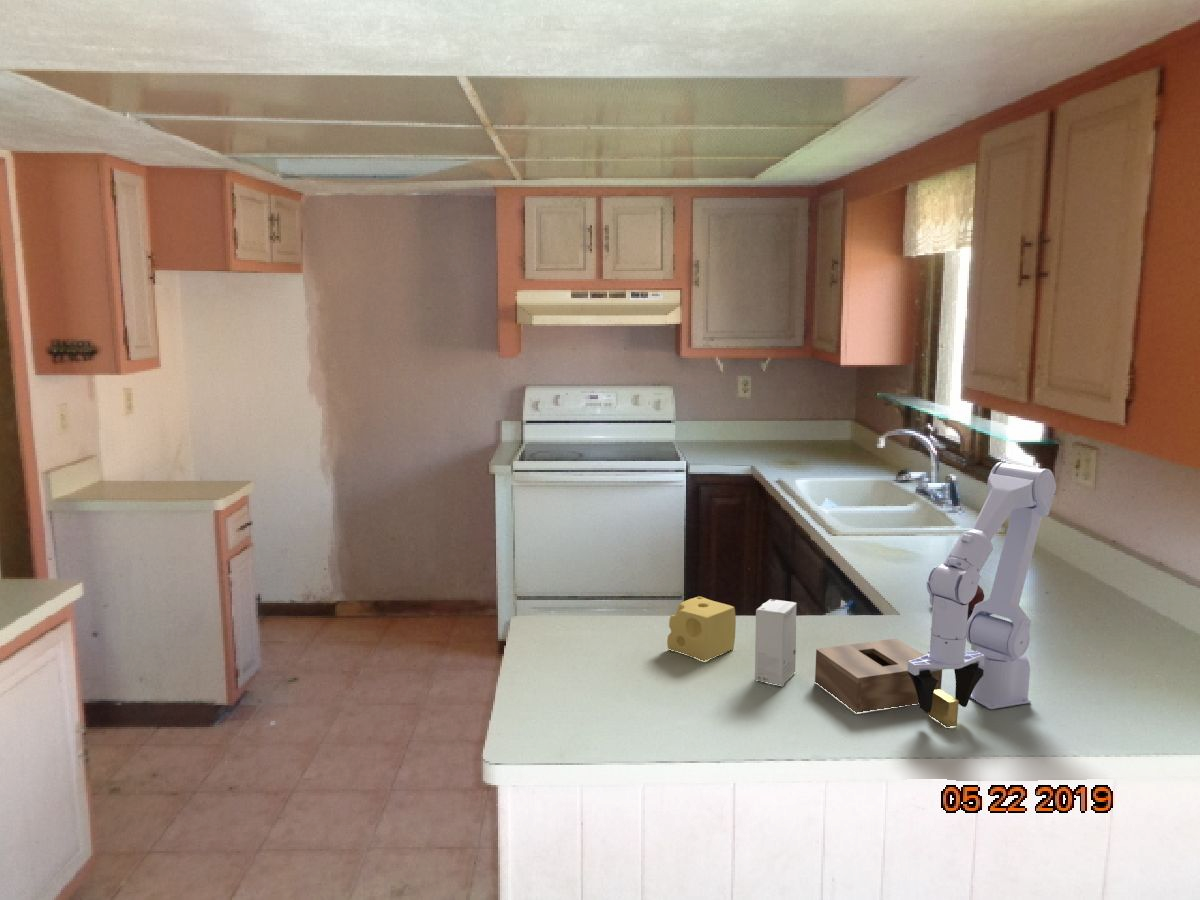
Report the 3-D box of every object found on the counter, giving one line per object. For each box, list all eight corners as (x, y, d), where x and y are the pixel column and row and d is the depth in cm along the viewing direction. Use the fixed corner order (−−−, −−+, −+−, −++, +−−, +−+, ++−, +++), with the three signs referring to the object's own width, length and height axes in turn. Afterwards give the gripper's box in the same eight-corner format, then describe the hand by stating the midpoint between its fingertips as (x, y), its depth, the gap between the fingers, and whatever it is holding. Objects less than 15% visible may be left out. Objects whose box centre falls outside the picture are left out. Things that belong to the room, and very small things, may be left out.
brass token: (937, 715, 162) (939, 689, 162) (956, 727, 158) (958, 700, 157) (928, 716, 162) (930, 690, 161) (947, 729, 157) (949, 702, 156)
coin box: (894, 671, 181) (896, 638, 180) (940, 701, 168) (942, 665, 167) (814, 683, 176) (816, 649, 174) (856, 714, 162) (857, 678, 161)
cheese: (666, 650, 192) (667, 605, 190) (699, 637, 199) (699, 593, 198) (705, 664, 185) (706, 618, 183) (737, 650, 192) (738, 605, 190)
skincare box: (782, 688, 173) (785, 614, 171) (752, 681, 176) (754, 609, 174) (796, 672, 181) (798, 601, 178) (767, 666, 183) (769, 596, 181)
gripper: (967, 621, 163) (961, 692, 165) (898, 630, 159) (894, 703, 161) (995, 635, 156) (989, 709, 159) (924, 644, 152) (919, 720, 154)
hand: (943, 707), depth 159 cm, fingers open, 7 cm apart
